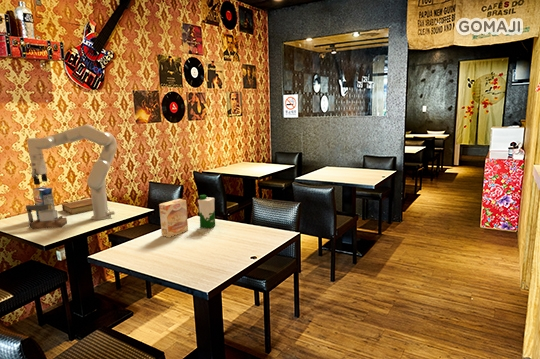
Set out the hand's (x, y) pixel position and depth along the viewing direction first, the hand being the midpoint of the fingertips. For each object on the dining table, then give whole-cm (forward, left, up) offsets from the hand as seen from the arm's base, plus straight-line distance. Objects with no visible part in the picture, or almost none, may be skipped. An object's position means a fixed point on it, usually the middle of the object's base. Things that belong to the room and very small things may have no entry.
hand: (41, 182), depth 250 cm
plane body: (-5, +8, -27) cm, 29 cm away
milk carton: (-108, +27, -28) cm, 115 cm away
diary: (-12, -31, -28) cm, 43 cm away
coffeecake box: (-89, +36, -28) cm, 100 cm away
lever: (-1, +8, -16) cm, 18 cm away
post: (+6, +8, -27) cm, 29 cm away
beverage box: (+4, -8, -28) cm, 29 cm away
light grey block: (-5, +8, -23) cm, 25 cm away
